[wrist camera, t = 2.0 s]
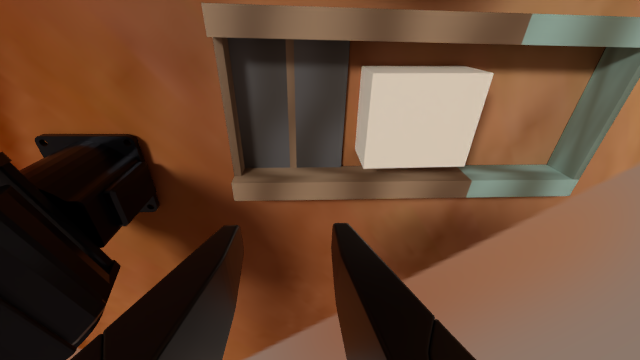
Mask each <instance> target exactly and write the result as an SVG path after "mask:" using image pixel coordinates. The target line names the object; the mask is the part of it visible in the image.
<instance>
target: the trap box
mask: <svg viewBox="0 0 640 360" xmlns="http://www.w3.org/2000/svg"><path fill="white" fill-rule="evenodd" d="M201 5H202V11H203V17H204V23H205V28H206V34H207V37H213V43H214V50H215V56H216V62H217V69H218V75H219V81H220V88H221V94H222V100H223V107H224V113H225V119H226V126H227V132H228V138H229V144H230V151H231V157H232V163H233V170H234V179H233V181H232V183H231V184H232V190H233V196H234V201H268V200H334V199H400V198H466V197H532V196H569V195H570V194H571V192H572V190H573V189H574V187H575V185H576V184H577V182H578V180H579V179H580V177H581V175H582V174H583V172H584V170H585V169H586V167H587V165H588V164H589V162H590V160H591V159H592V157H593V155H594V154H595V152H596V150H597V148H598V147H599V145H600V143H601V142H602V140H603V138H604V137H605V135H606V133H607V132H608V130H609V128H610V127H611V125H612V123H613V122H614V120H615V118H616V117H617V115H618V113H619V112H620V110H621V108H622V107H623V105H624V103H625V101H626V100H627V98H628V96H629V95H630V93H631V91H632V90H633V88H634V86H635V85H636V83H637V81H638V80H639V78H640V17H616V16H586V15H555V14H524V13H494V12H463V11H433V10H402V9H371V8H341V7H310V6H280V5H249V4H219V3H201ZM350 41H389V42H430V43H471V44H511V45H552V46H593V47H606V49H605V51H604V53H603V55H602V57H601V59H600V61H599V63H598V65H597V67H596V69H595V71H594V73H593V75H592V76H591V78H590V80H589V82H588V84H587V86H586V88H585V90H584V92H583V94H582V96H581V98H580V100H579V102H578V104H577V106H576V108H575V110H574V112H573V114H572V116H571V118H570V120H569V122H568V124H567V126H566V128H565V130H564V132H563V134H562V135H561V137H560V139H559V141H558V143H557V145H556V147H555V149H554V151H553V153H552V155H551V157H550V159H549V161H548V163H547V165H465V166H464V167H419V168H374V169H363V167H362V166H341V158H342V144H343V131H344V117H345V103H346V89H347V75H348V61H349V47H350Z"/></svg>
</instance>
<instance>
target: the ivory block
mask: <svg viewBox="0 0 640 360" xmlns="http://www.w3.org/2000/svg"><path fill="white" fill-rule="evenodd" d="M493 74H494V73H491V72H487V71H483V70H479V69H475V68H471V67H467V66H362V69H361V81H360V94H359V106H358V119H357V131H356V144H355V150H356V153H357V155H358V157H359V160H360V162H361V164H362V167H363V169H374V168H419V167H464V166H465V163H466V160H467V157H468V153H469V150H470V147H471V144H472V141H473V138H474V134H475V131H476V128H477V125H478V122H479V119H480V115H481V112H482V109H483V106H484V103H485V100H486V96H487V93H488V90H489V87H490V84H491V81H492V77H493Z"/></svg>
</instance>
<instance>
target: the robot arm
mask: <svg viewBox="0 0 640 360" xmlns="http://www.w3.org/2000/svg"><path fill="white" fill-rule="evenodd" d="M44 140H45V141H46V142H47V143H48V144H47V143H46V142H45V141H44ZM127 140H129V141H130V142H131V144H129V143H128V142H127ZM35 142H36V144H37V146H38V148H39V150H40V152H41V154H42V155H43V157H44V158H43V159H41V160H39V161H37V162H35V163H33V164H32V165H30V166H28V167H26V168H24V169H22V170H20V171H19V170H18V169H17V168H16V167H14V166H13V165H12V164H11V163H10V161H12V160H11V159H9V158H8V157H7V156H6V155H5V154H4V153H3V152H0V360H66V359H68V358H69V357H70V356H71V355H73V354H74V353H75V351H76V349H77V347H78V346H79V345H80V344H81V343H82V342H83V341H84V340H85V339H86V338H87V337H88V336H89V334H90V333H91V332H92V331H93V329H94V328H95V326H96V325H97V324H98V322H99V320H100V318H101V316H102V314H103V311H104V309H105V306H106V303H107V301H108V298H109V295H110V293H111V290H112V287H113V285H114V282H115V280H116V277H117V274H118V272H119V269H120V265H119V264H118V263H117V262H116V261H115V260H111V259H110V258H109V257H108V256H107V255H106V254H105V253H104V252H103V251H102V250H101V249H100V248H102V247H104V246H105V245H106V244H107V243H108V241H109V240H110V239H111V238H112V237H113V236H114V235H115V234H116V233H117V231H118V230H119V229H120V228H121V227H122V226H127V225H128V224H129V223H130V222H131V221H132V219H133V218H134V217H135V216H136V215H137V214H138V213H139V212H154V211H156V210H157V209H158V208H159V206H160V205H159V201H158V198H157V195H156V189H155V186H154V183H153V180H152V177H151V174H150V171H149V168H148V165H147V164H146V163H145V160H144V157H143V155H142V152H141V149H140V146H139V143H138V140H137V138H136V137H134V136H133V135H130V134H42V135H40V136H37V137H36V138H35ZM150 204H151V205H153V206H151V205H150ZM331 251H332V264H333V277H334V289H335V300H336V307H337V313H338V317H339V322H340V327H341V333H342V337H343V342H344V347H345V352H346V357H347V360H476V359H475V358H474V357H473V356H472V355H471V354H470V353H469V352H468V351H467V350H466V349H465V348H464V347H463V346H462V345H461V344H460V343H459V342H458V341H457V339H456V338H455V337H454V336H452V335H451V333H450V332H449V331H448V330H447V329H446V328H445V327H444V326H443V325H442V324H441V323H440V322H439V320H437V319H435V317H434V315H433V314H432V313H431V312H430V311H429V310H428V309H427V308H426V307H425V306H424V305H423V304H422V302H421V301H420V300H419V299H418V298H417V297H416V296H415V295H414V294H413V293H412V292H411V291H410V289H409V288H408V287H406V285H405V284H404V283H403V282H402V281H401V280H400V279H399V278H398V277H397V275H396V274H395V273H394V272H393V271H392V270H391V269H390V268H389V267H388V266H387V265H386V264H385V263H384V262H383V260H382V259H381V258H380V257H379V256H378V255H377V254H376V253H375V252H374V251H373V250H372V249H371V248H370V246H369V245H368V244H367V243H366V242H365V241H364V240H363V239H362V238H361V237H360V236H359V235H358V234H357V233H356V231H355V230H354V229H353V228H352V227H351V226H350V225H349V224H348V223H335V224H334V225H333V229H332V244H331ZM243 253H244V248H243V241H242V235H241V229H240V227H239V226H238V225H225V226H223V227H221V228H220V229H219V230H218V231H217V232H216V233H215V234H213V235H212V236H211V237H210V238H209V239H208V240H207V241H205V242H204V243H203V244H202V245H201V246H200V247H199V248H197V249H196V250H195V251H194V252H193V253H192V254H191V255H189V256H188V257H187V258H186V259H185V260H184V261H183V262H181V263H180V264H179V265H178V266H177V267H176V268H175V269H173V270H172V271H171V272H170V273H169V274H168V275H167V276H166V277H164V278H163V279H162V280H161V281H160V282H159V283H158V284H156V285H155V286H154V287H153V288H152V289H151V290H150V291H148V292H147V293H146V294H145V295H144V296H143V297H142V298H140V299H139V300H138V301H137V302H136V303H135V304H134V305H132V306H131V307H130V308H129V309H128V310H127V311H126V312H124V313H123V314H122V315H121V316H120V317H119V318H118V319H117V320H115V321H114V322H113V323H112V324H111V325H110V326H109V327H107V328H106V329H105V330H104V332H103V334H100V335H98V336H97V337H96V338H95V339H94V340H92V341H91V342H90V343H89V344H88V345H87V346H86V347H84V348H83V349H82V350H81V351H80V352H79V353H78V354H76V355H75V356H74V357H73V358H72V359H71V360H222V358H223V354H224V351H225V347H226V343H227V339H228V336H229V332H230V328H231V324H232V320H233V316H234V312H235V308H236V302H237V296H238V289H239V282H240V275H241V268H242V261H243Z"/></svg>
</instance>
